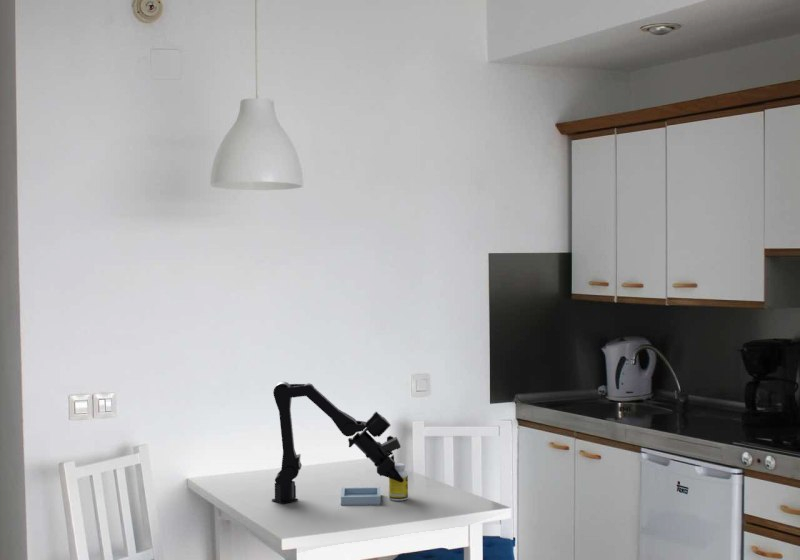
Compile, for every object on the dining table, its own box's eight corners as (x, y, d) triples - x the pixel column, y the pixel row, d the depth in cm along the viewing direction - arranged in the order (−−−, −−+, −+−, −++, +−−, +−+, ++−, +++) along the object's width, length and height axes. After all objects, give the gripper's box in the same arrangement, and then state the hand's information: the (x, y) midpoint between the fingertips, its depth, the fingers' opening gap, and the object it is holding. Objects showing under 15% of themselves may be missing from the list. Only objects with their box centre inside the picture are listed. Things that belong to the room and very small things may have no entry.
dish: (380, 504, 302) (380, 496, 302) (341, 504, 301) (340, 497, 301) (380, 494, 315) (379, 487, 315) (342, 495, 314) (342, 487, 314)
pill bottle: (405, 501, 305) (405, 467, 304) (386, 501, 306) (386, 466, 306) (409, 497, 311) (409, 462, 311) (391, 496, 312) (390, 462, 312)
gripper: (387, 434, 299) (420, 468, 299) (385, 425, 317) (417, 456, 318) (362, 458, 299) (396, 492, 299) (363, 448, 317) (395, 479, 318)
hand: (402, 479), depth 308 cm, fingers closed on pill bottle, 6 cm apart
